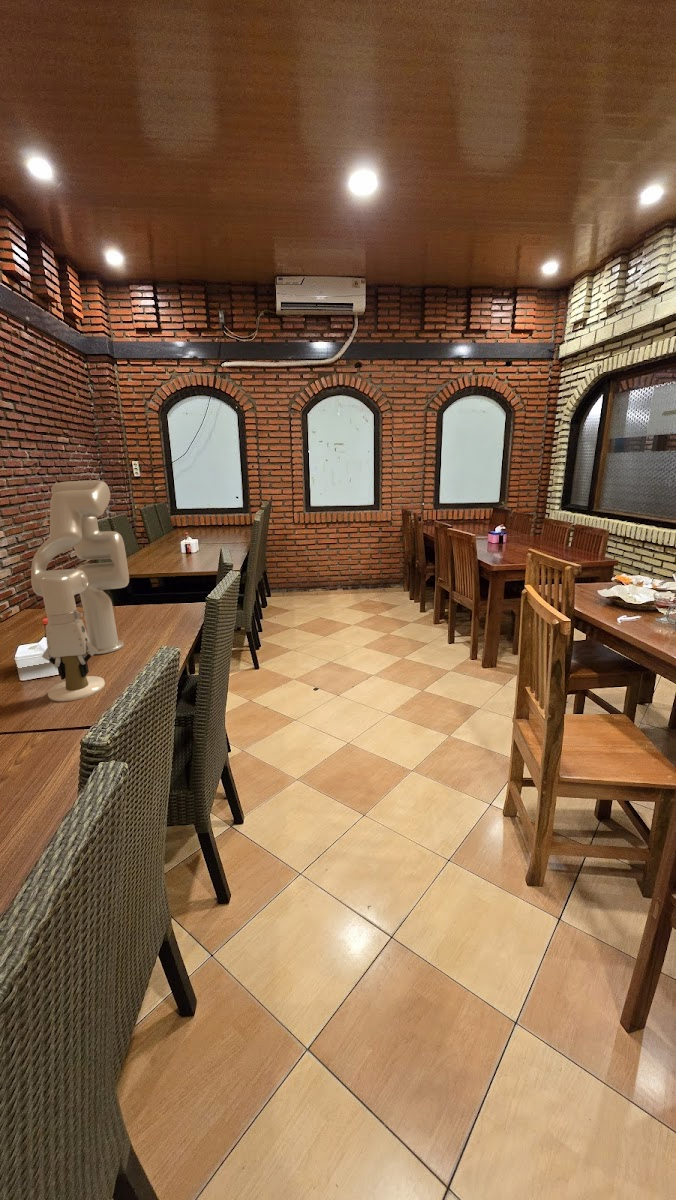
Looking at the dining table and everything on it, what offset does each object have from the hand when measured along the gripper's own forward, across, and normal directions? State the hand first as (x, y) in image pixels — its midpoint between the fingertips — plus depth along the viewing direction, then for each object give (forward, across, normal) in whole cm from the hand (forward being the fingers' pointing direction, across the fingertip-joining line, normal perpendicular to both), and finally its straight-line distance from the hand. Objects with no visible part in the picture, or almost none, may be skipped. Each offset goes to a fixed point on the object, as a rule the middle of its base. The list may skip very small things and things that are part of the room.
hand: (74, 676), depth 141 cm
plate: (+4, 0, 0) cm, 4 cm away
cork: (+4, 0, 0) cm, 4 cm away
